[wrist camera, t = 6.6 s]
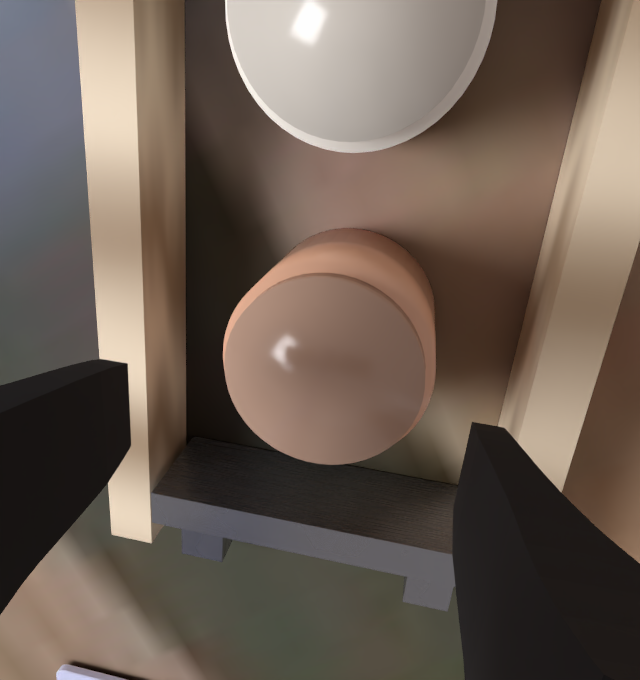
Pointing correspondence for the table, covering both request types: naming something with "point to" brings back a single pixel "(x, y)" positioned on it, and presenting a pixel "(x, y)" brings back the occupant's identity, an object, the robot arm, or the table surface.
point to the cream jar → (358, 64)
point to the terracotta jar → (334, 348)
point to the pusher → (311, 513)
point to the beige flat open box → (170, 239)
